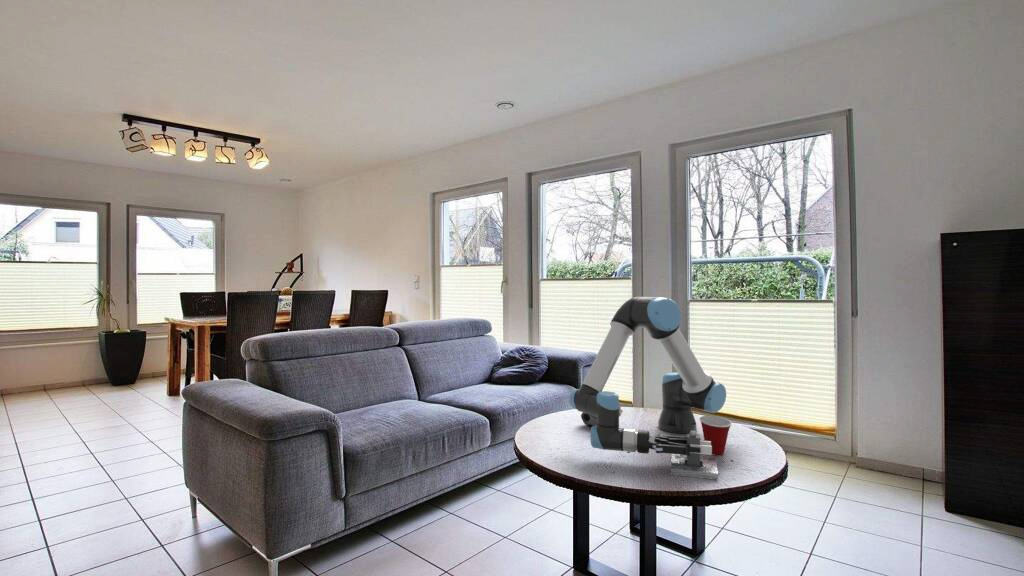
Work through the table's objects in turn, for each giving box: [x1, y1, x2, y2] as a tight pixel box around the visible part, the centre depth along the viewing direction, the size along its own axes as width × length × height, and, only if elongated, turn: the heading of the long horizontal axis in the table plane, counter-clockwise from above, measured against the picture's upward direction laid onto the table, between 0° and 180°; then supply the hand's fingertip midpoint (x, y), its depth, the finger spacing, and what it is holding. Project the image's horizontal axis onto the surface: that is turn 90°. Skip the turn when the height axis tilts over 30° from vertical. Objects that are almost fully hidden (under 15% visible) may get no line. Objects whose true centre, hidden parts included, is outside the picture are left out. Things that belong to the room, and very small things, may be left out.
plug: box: [686, 430, 701, 467], centre depth 165 cm, size 4×4×12 cm
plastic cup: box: [699, 415, 733, 456], centre depth 180 cm, size 11×11×12 cm
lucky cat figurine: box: [580, 406, 623, 429], centre depth 212 cm, size 15×12×14 cm
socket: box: [670, 454, 719, 480], centre depth 165 cm, size 14×14×3 cm
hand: (711, 448), depth 163 cm, fingers closed on plug, 4 cm apart
